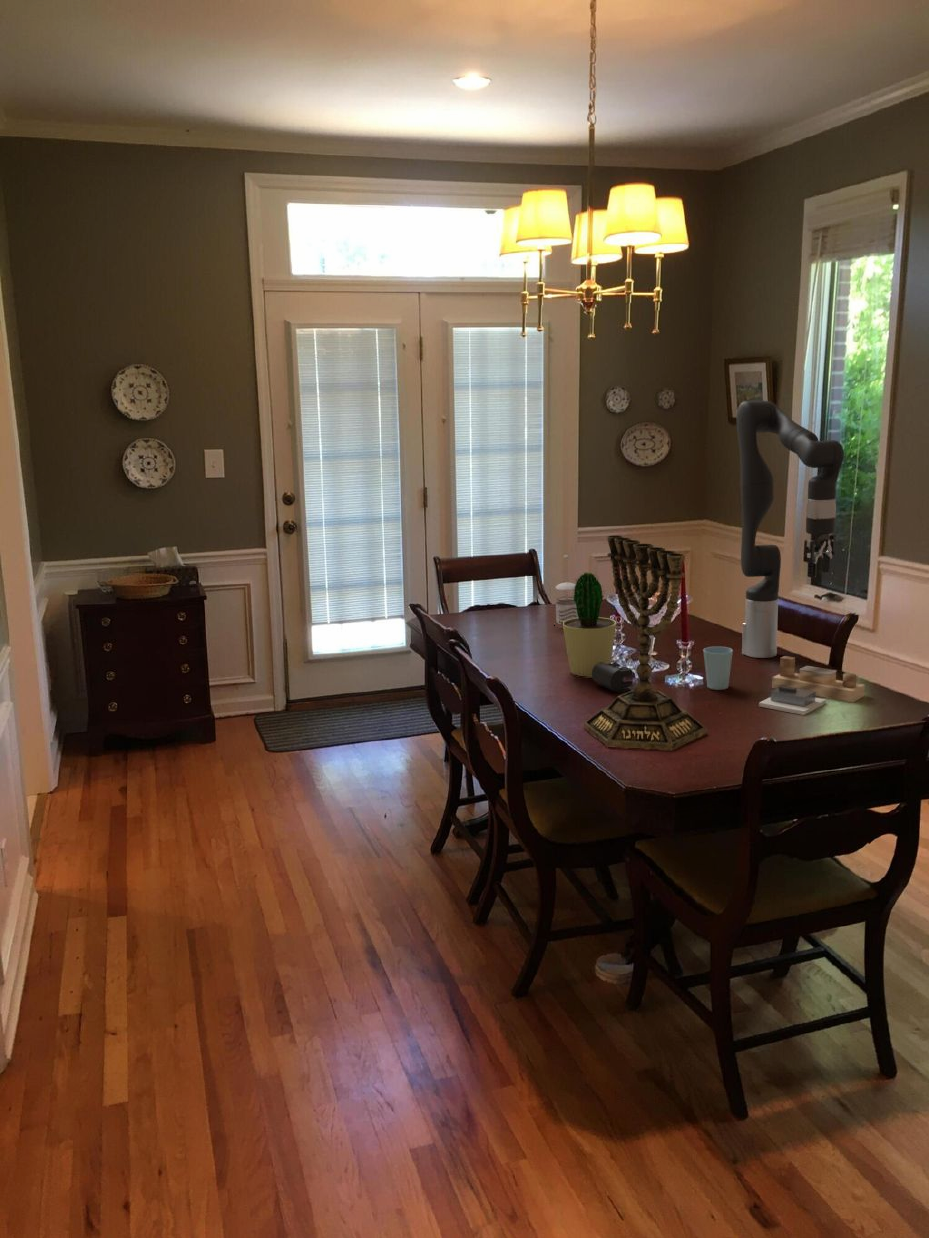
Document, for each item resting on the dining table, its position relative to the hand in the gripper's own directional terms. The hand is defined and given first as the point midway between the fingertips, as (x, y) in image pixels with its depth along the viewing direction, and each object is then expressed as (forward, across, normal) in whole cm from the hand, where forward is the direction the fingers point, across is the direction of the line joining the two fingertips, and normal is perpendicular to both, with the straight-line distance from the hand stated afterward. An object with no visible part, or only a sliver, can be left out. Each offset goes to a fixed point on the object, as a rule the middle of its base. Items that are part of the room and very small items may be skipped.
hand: (818, 574), depth 275 cm
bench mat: (+28, +30, +8) cm, 42 cm away
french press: (+28, -9, -94) cm, 99 cm away
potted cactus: (+28, +35, -52) cm, 69 cm away
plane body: (+28, +16, +8) cm, 33 cm away
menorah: (+28, +69, -10) cm, 75 cm away
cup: (+28, +27, -15) cm, 42 cm away
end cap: (+28, +45, -37) cm, 65 cm away
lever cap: (+27, +30, +8) cm, 41 cm away
